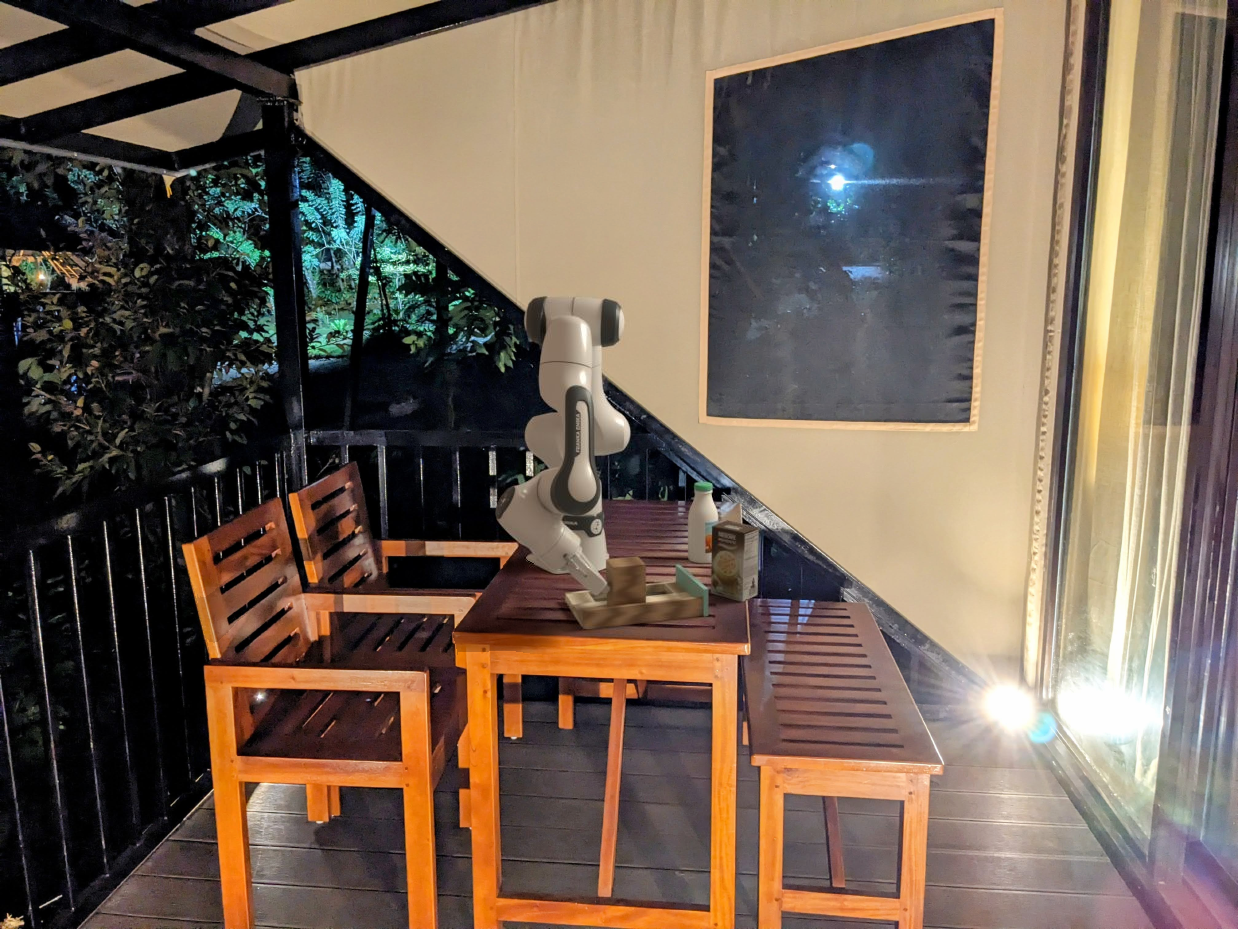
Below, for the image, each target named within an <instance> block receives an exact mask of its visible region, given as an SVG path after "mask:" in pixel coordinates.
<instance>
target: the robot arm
mask: <svg viewBox="0 0 1238 929" xmlns="http://www.w3.org/2000/svg"><path fill="white" fill-rule="evenodd" d="M523 319H524V320H523V322H524V323H523V324H524V329H525V331H526V335H527V337H528V338H529V339H530V340H531V341H532V342H533V343H535V344H538V345H539V346H541V347H542V348H541V354H540V359H539V360H540V361H539V370H538V371H539V372H538V373H539V374H538V387H539V393H540V397H541V398H542V399H543V401H544V402H545V403H546V404H547V406H549V407H550V408H552V409H553V410H555V411H557V412H549V413H548V412H547V413H544V414H540V415H536V416H533V417H531V419H530V420H529V421H528V422H527V425H526V427H525V429H524V430H525V431H524V440H525V444H526V446H527V448H528V450H529V451H530V452H531V453H532V454H533V455H534V456H536V457H537V458H539V460H541V461H542V462H544V464H545V465H546V466H547V469H544V470H542V471H540V472H539V473H537V474H536V475H535V476H534V477H532V478H531V479H529V480H528V481H526V482H523V483H521V484H518V485H512V486H510V487H509V488H507V489H506V490H505V491H504V493H503V494H501V496H500V498H499V499H498V502H497V505H496V506H495V507H496V508H495V517H496V520H497V521H498V523H499V525H501V527H502V528H503V529H504V530H505V531H506V532H507V533H508V534H509V535H510V536H511V537H512V538H513V539H515V540H516V541H517V542H518V543H519V544H520V545H522V546H525V547H526V548H528V549H529V550H530V551H531V553H529V554H528V555H527V556H526V559H527V560H528V561H530V562H532V563H534V564H533V565H534V566H537V567H539V568H541V569H543V570H545V571H547V572H550V573H551V574H554V575H555V574H557V575H558V574H559V575H560V574H570V575H571V576H572V577H573V578H574V579H575V580H576V581H577V582H579V583H580V585H582V586H583V587H584V588H585V590H589V591H590V592H591V593H592V594H594V595H598V594H599V593H600V592H601V591H602V592H603V593H604V594H607V593H608V592H609V591H610V587H609V586H608V584H607V582H606V578H604V577H603V576H602V575H601V574H600V572H599V571H603V570H604V569H605V570H606V559H610V553H608V549H607V542H606V541H607V540H606V534H605V529H604V524H605V514H604V509H603V503H602V502H603V501H602V481H601V479H600V477H599V473H598V470H597V466H596V459H595V457H596V456H607V455H611V454H616V453H620V452H622V451H624V450H625V449H626V447H627V446H628V444H629V442H630V438H631V427H630V424H629V421H628V420H627V419H626V417H625V416H624V415H623V414H622V413H621V412H619V411H618V410H617V409H615V408H614V407H613V406H612V405H611V403H610V402H609V401H608V399H607V397H606V395H605V392H604V387H603V386H604V385H603V368H602V367H603V350H602V349H603V348H607V347H612V346H615V345H616V344H617V343H618V342H619V341H620V340H621V337H622V336H623V333H624V330H625V324H626V323H625V321H626V320H625V315H624V312H623V310H622V305H620V303H619V302H618V301H615V300H612V299H608V298H603V299H601V298H596V297H589V296H581V295H580V296H579V295H578V296H577V295H575V296H553V297H552V296H551V297H548V296H547V295H545V296H544V295H543V296H538V297H534V298H532V299H531V300H530V301H529V303H528V305H527V308H526V310H525V313H524V318H523ZM526 559H525V560H526ZM527 560H526V561H527ZM528 561H527V562H528ZM530 562H529V563H530ZM532 563H531V564H532Z"/></svg>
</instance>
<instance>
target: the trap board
mask: <svg viewBox="0 0 1238 929" xmlns="http://www.w3.org/2000/svg"><path fill="white" fill-rule="evenodd" d="M564 602H565V604H566V603H567V604H566V605H567V607H568V606H569V607H568V608H569V609H570V611H571V613H572V614H573V615H574V617H575V618H576V620H577V622H578V623H579V624H580V626H581V628H582V627H583V628H582V629H583V630H584V629H587V630H594V629H602V628H611V627H620V626H627V625H635V624H645V623H654V622H660V621H669V620H677V619H685V618H686V619H687V618H695V617H704V616H703V597H702V596H699V597H692V596H691V595H690V594H689V593H688V592H686V591H685V590H684V589H683V588H682V587H681V586H680V585H679V584H678V583H677V582H676V580H673V581H663V582H654V583H646V603H637V604H628V605H619V606H610V607H609V606H608V605H607V594H604V593H603V592H602V591H601V592H600V593H599V594H598V595H594V594H592V593H591V592H590V591H589V590H588V589H586V590H579V591H569V592H564Z"/></svg>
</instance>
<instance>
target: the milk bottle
mask: <svg viewBox="0 0 1238 929" xmlns="http://www.w3.org/2000/svg"><path fill="white" fill-rule="evenodd" d="M693 490H694V491H693V492H694V498H693V502H692V503H691V505H690V508H689V511H688V515H687V516H688V518H687V558H688V560H689V561H690V562H691V563H695V564H711V561H712V526H714V525H716V524H719V512H718V509H717V507H716V505H715V503H714V500H713V497H712V493H713V483H711V482H709V481H699V482H695V483H694V485H693Z"/></svg>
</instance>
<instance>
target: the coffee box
mask: <svg viewBox="0 0 1238 929" xmlns="http://www.w3.org/2000/svg"><path fill="white" fill-rule="evenodd" d="M759 535H760V527H758V526H755V525H750V524H747V523H746V524H745V523H742V522H741V523H740V522H736V521H733V520H724V521H721V522H718V524H716V525H714V526H712V561H711V563H710V564H711V575H710V593H711V594H713V595H716V596H720V597H724V598H727V599H731V600H734V601H738V602H746V601H748V600H749V599H752V598H753V597H756V596H758V582H759V577H758V576H759V541H760V539H759V538H760V537H759ZM746 598H747V600H746Z"/></svg>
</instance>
